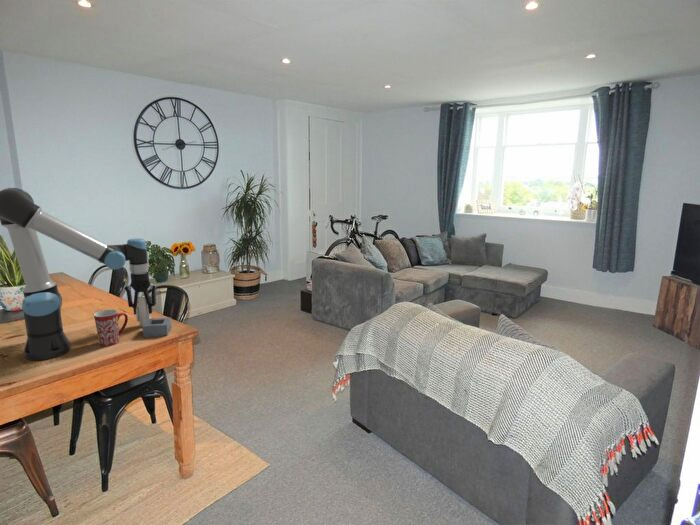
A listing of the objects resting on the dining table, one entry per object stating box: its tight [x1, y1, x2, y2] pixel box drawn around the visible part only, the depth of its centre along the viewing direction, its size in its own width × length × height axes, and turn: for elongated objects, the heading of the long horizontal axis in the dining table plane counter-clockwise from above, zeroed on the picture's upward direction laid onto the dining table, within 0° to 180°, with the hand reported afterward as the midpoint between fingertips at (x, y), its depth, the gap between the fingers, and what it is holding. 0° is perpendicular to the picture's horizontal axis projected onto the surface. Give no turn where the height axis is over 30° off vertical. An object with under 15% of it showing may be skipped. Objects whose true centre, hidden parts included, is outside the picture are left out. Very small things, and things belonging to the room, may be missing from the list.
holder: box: [141, 317, 173, 338], centre depth 191 cm, size 10×10×5 cm
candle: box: [137, 295, 148, 328], centre depth 198 cm, size 4×4×15 cm
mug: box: [93, 309, 129, 347], centre depth 179 cm, size 13×9×14 cm
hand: (143, 320), depth 199 cm, fingers closed on candle, 4 cm apart
